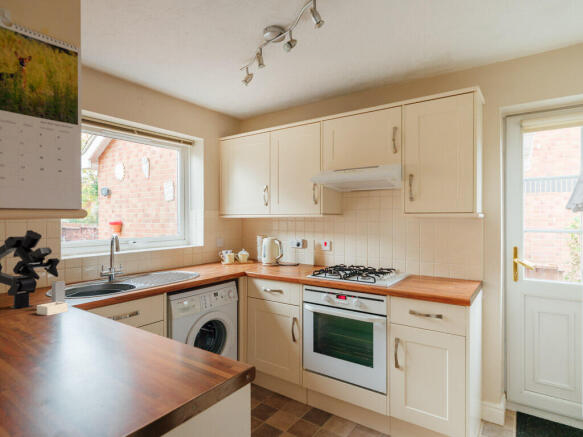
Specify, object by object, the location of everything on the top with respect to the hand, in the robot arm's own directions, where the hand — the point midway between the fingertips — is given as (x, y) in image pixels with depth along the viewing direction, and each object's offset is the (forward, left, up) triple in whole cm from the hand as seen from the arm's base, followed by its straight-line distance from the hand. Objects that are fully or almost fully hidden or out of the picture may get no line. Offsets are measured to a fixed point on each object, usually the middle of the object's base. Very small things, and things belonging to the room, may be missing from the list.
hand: (48, 277), depth 153 cm
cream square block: (+11, -4, -14) cm, 18 cm away
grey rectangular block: (+4, +2, -14) cm, 15 cm away
